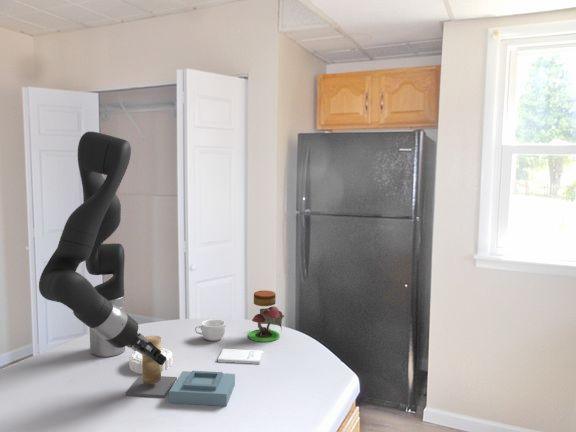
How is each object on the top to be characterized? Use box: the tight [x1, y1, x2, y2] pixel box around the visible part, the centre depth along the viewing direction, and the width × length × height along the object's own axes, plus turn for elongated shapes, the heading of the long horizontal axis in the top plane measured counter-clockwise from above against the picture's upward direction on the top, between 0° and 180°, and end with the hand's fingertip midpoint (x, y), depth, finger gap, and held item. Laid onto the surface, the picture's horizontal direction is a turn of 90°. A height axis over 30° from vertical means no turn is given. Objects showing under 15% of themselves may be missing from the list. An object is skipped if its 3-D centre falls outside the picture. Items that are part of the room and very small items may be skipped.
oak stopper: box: [141, 335, 162, 384], centre depth 120 cm, size 5×5×11 cm
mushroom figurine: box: [248, 290, 285, 343], centre depth 158 cm, size 12×13×15 cm
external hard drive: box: [217, 348, 264, 365], centre depth 141 cm, size 2×8×12 cm
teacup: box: [194, 318, 226, 342], centre depth 155 cm, size 10×8×5 cm
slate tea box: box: [168, 370, 236, 407], centre depth 118 cm, size 14×11×4 cm
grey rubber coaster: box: [124, 374, 178, 398], centre depth 121 cm, size 10×10×1 cm
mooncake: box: [128, 347, 174, 375], centre depth 134 cm, size 12×12×4 cm
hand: (158, 358), depth 122 cm, fingers closed on oak stopper, 4 cm apart
